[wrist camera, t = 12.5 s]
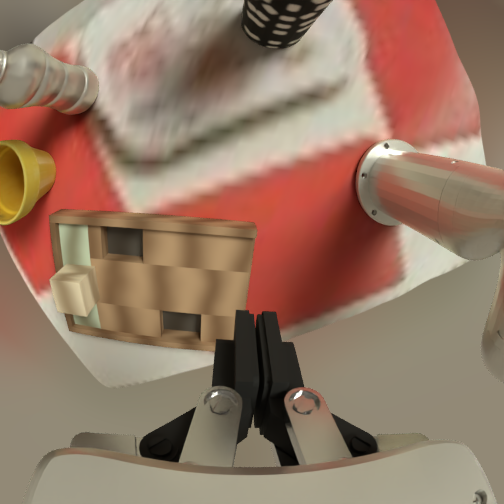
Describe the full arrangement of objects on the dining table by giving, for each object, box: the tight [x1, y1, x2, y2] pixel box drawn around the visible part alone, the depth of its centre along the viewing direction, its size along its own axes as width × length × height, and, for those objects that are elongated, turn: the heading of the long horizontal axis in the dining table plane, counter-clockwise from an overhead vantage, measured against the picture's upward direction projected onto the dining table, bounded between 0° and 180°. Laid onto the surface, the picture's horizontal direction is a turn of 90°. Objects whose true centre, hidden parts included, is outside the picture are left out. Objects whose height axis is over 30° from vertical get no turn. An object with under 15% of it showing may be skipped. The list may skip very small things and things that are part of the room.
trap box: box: [49, 209, 257, 351], centre depth 36 cm, size 28×19×3 cm
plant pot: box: [0, 140, 56, 225], centre depth 26 cm, size 10×10×10 cm
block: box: [49, 264, 100, 317], centre depth 32 cm, size 5×5×5 cm
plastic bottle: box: [0, 44, 99, 115], centre depth 18 cm, size 6×7×20 cm
